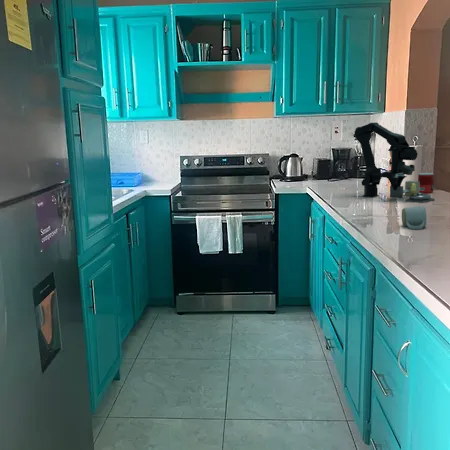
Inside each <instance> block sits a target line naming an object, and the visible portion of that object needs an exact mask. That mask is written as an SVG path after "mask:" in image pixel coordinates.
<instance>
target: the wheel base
mask: <svg viewBox="0 0 450 450" xmlns="http://www.w3.org/2000/svg"><path fill="white" fill-rule="evenodd" d="M404 201H405V202H411V203H412V202H413V203H419V204H421V203H422V204H425V203H430V202H434V201H435V198H434V197H433V198H432V197H431V198H430V199H426V200H415V199H409V198H405V199H404Z"/></svg>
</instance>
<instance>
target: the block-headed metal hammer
mask: <svg viewBox="0 0 450 450" xmlns="http://www.w3.org/2000/svg"><path fill="white" fill-rule="evenodd" d="M389 188H390V189H389V197H390V198H393V199H394V198H396V199H403V198H404V196H403V195H404V194H405V193H407V192H410V189H404V186H403V185H401V186H397V188H396V190H394V189H393V187H392V185H389Z"/></svg>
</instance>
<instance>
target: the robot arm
mask: <svg viewBox="0 0 450 450" xmlns="http://www.w3.org/2000/svg"><path fill="white" fill-rule="evenodd" d="M372 133H375V134H377V135H378V136H380V137H382V138H383V139H385V141H386V143H388V145H389V146H390V147H389V148H388V149H387V150H388V152H391V161H390V162H389V165H390V167H391V168H390V169H389V170H388V171H387V170H386V171H382V170H381V167H377V166H376V163H375V159H374V154H373V150H372V146H371V142H370V140H371V138H372ZM354 137H355V139H356V140H357V142H358V143H359V145H360V147H361V151H362V155H363V158H364V160H363V161H364V164H365V168H366V169H365V172H364V178H363V179H362V180H361V186H363V187H364V189H363V193H364V194H363V195H361V196H362V197H366V198H367V197H369V198H373V197H374V198H375V197H379V196H380V195H379V194H378V191H379V190H378V189H379V188H378V185H380V184H381V183H380V182H381V179H382V178H386V179H387V180H388V182H389V183H390V186H392V187H393V189H394V190H396V188H397V186H402V183H403V181H404V179H405V178H407V176H411V175H413V172H415V171H416V169H415V167H416V166H415V164H409V165H408V164H406V162H405V161H415V160H417V158H418V154H419V153H418V151H417V149H416V147H415V146H410V144H409V142H408V141H407V140H406V136H405V135H404V134H401V133H397V132H396V133H395V132H392V131H391V130H389V129H388V128H386V127H384V126H382V125H381V124H379V123H378V122H377V121H376V122H369V123H367V124H365V125H363V126H358V127H356V128H355V130H354Z"/></svg>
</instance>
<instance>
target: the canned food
mask: <svg viewBox="0 0 450 450" xmlns="http://www.w3.org/2000/svg"><path fill="white" fill-rule="evenodd" d="M417 178H418V179H417V181H420V190H419V193H423V194H428V195H430V194H433V193H434V182H435V181H434V180H435V179H434V178H435V174H434V173H433V172H420V173H418V177H417Z"/></svg>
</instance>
